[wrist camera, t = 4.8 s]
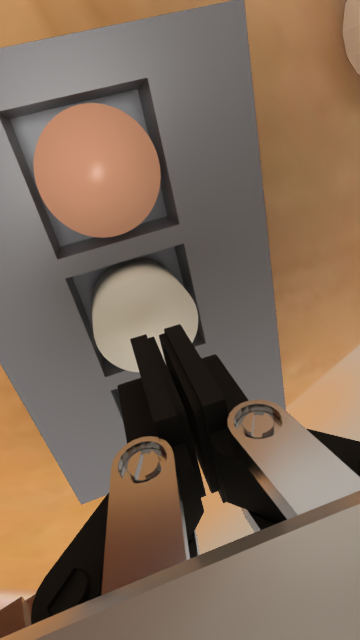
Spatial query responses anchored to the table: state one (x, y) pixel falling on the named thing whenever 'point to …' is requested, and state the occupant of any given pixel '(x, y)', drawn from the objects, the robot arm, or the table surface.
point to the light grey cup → (352, 32)
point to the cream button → (138, 308)
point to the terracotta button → (97, 170)
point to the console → (149, 236)
